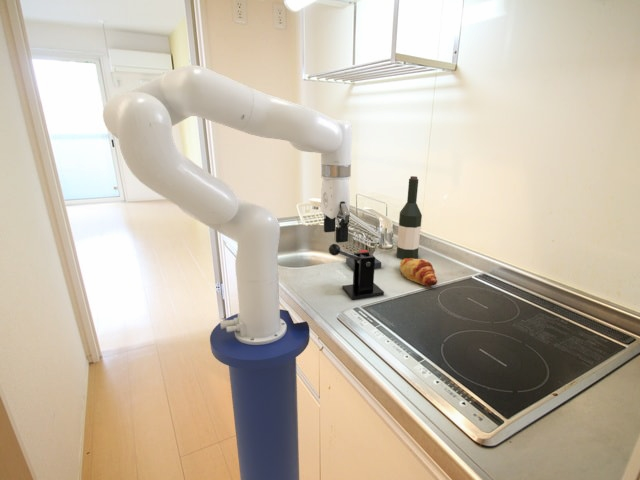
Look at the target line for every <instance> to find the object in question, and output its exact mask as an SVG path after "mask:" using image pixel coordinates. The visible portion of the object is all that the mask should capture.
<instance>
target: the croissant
mask: <svg viewBox="0 0 640 480" xmlns="http://www.w3.org/2000/svg"><path fill="white" fill-rule="evenodd" d="M399 271H400V272H401V276H402V277H404V278H406V279H407V280H409V281H412V282H414V283H418V284H420V285H423V286H427V287H432V286H436V285H437V284H438V279H437V276H436V273H435V269H434V267H433V264H432V263H431V262H430V261H429V260H427V259H423V258H422V259H421V258H417V259H413V258H408V259H407V258H406V259H401V260H400V264H399Z"/></svg>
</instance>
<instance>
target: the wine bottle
mask: <svg viewBox="0 0 640 480" xmlns="http://www.w3.org/2000/svg"><path fill="white" fill-rule="evenodd" d="M407 187H408V189H407V198H406V199H407V200H406V203H405V205H403V207H402V209H401V210H400V211H399V217H398V230H397V244H396V258H397V259H399V260H403V259H406V258H407V259H408V258H413V259H419V249H420V238H421V228H422V219H423V214H422V212H421V209H420V208H419V206H418V204H417V199H418V188H419V178H418V176H417V175H416V176H413V175H411V176H410V177H409V178H408V186H407Z"/></svg>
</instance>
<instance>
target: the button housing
mask: <svg viewBox="0 0 640 480" xmlns="http://www.w3.org/2000/svg"><path fill="white" fill-rule="evenodd" d="M369 256H374V254H373V253H371V252H369ZM345 263H346V265H347V266H348V267H349V268H350V269H351V270H352V271H353V268H354V259H352V258H350V257H345ZM378 269H382V261H381V260H379V259H377V257H375V266H374V270H378Z"/></svg>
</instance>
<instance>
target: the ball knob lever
mask: <svg viewBox="0 0 640 480" xmlns="http://www.w3.org/2000/svg"><path fill="white" fill-rule="evenodd" d="M328 252H329V254H330V255H331V256H335V257H336V256H338V255H341V256H344V257H346V258H349V257H350V258H352V259H355V260H358V261H357V262H358V263H359V258H360V257H366V256H364V255H361V254H360V256H359V257H358V256H356V255H354V253H350V252H348V251H344V250H343V249H341V247H340V245H339V244H338V243H332V244H330V245H329V247H328Z"/></svg>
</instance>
